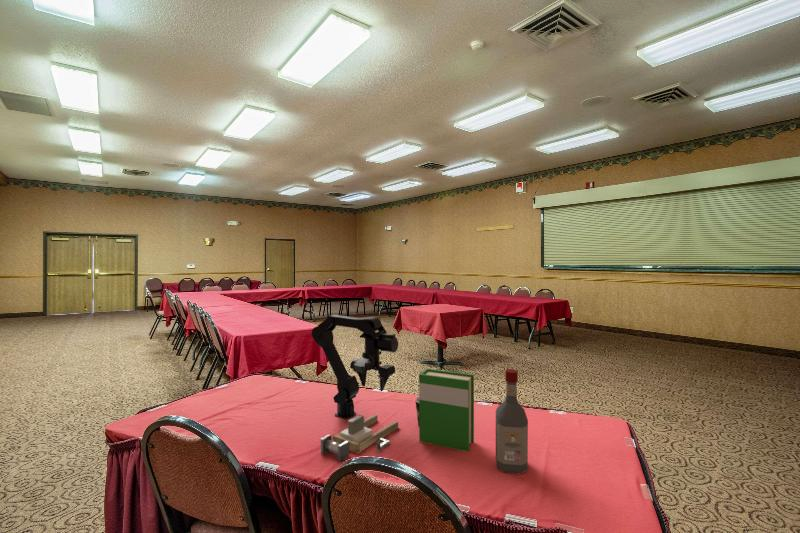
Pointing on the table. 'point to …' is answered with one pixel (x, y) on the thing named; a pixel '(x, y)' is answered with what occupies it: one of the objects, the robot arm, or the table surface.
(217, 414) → the table surface
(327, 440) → the winch
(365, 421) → the bay
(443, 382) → the hardback book
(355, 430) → the two-tone stepped block
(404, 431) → the table surface
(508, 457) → the liquor
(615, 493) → the table surface
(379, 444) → the crank handle
